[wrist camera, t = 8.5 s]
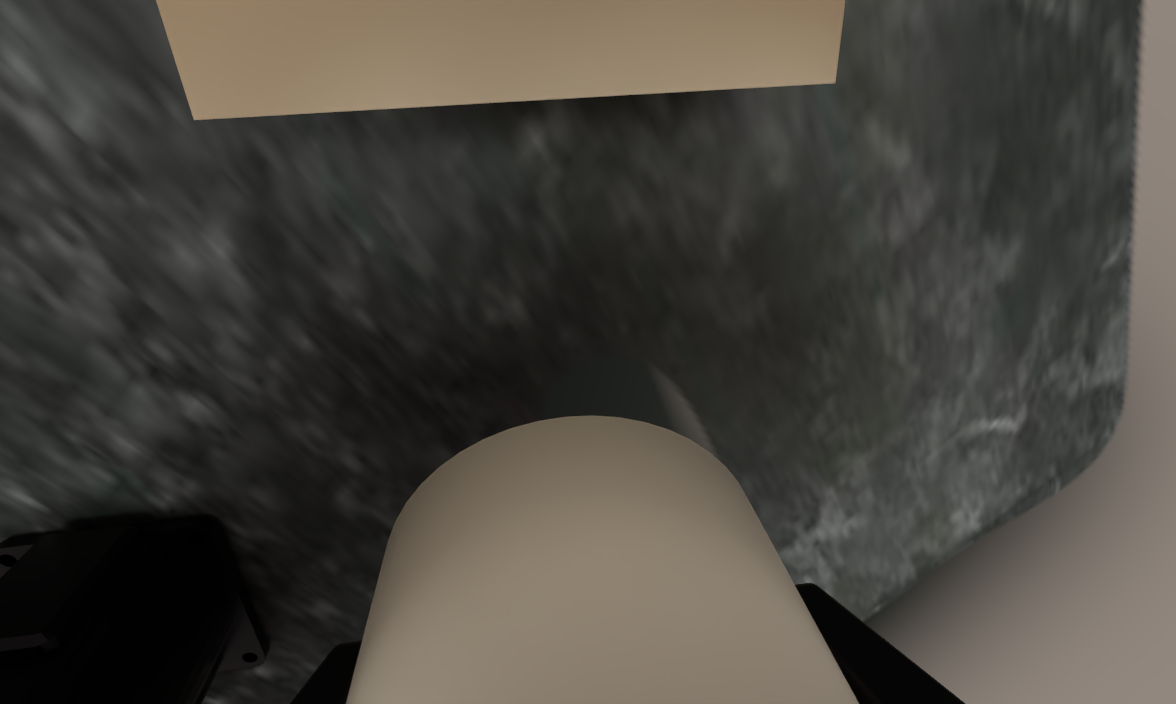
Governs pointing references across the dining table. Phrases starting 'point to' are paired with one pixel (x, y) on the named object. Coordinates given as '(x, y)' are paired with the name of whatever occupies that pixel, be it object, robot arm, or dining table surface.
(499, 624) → the beige tapered cylinder
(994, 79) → the dining table surface
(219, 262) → the dining table surface
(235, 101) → the box lid
